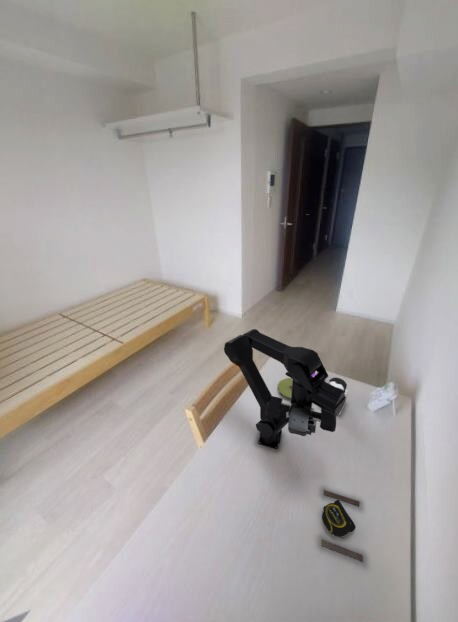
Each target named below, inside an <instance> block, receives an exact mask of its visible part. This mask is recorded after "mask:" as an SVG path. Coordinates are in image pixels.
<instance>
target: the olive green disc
mask: <svg viewBox="0 0 458 622" xmlns="http://www.w3.org/2000/svg"><path fill="white" fill-rule="evenodd" d="M292 380H293V379H292V378H290V377H286V378H283V379H281V380H280V381H279V382H278V384H277V389H278V392H279V393H280V394H282V395H283V396H284V397H287V398H289V399H291V392H292Z"/></svg>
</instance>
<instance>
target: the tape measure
mask: <svg viewBox="0 0 458 622" xmlns="http://www.w3.org/2000/svg"><path fill="white" fill-rule="evenodd" d="M322 510H323V511H322V514H321V520H322V523H323V526H324V527H325V528H326V530H327V531H328V532H329V533H330V534H331V535H333V536H334V537H337V538H343V537H346V536H347V535H348V534H351V533H353V532H354V531H356V527H357V526H356V524H355V522H354V520H353V519H352V518H351V516H350V515H349V514H348V512H347V510H346V509H345V507H344V506H343V504H342V502H341V500H338V499H336V500H334V501H333V502H329V503H328V504H327V505H324V506H323V509H322Z"/></svg>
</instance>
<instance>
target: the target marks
mask: <svg viewBox="0 0 458 622" xmlns="http://www.w3.org/2000/svg"><path fill="white" fill-rule="evenodd" d="M323 496H326V497H330V498H332V499H336V500H339V501H340V502H341V501H342V502H344V503H346V504H347V503H348V504H351V505H353V506H356V507H360V501H359V500H357V499H353V498H350V497H347V496H344V495H341V494H338V493H335V492H332V491H330V490H326V489H323ZM321 547H324V548H325V549H329V550H330V551H331V550H332V551H334V552H336V553H338V554H342V555H344V556H347V557H350V558H352V559H354V560H357V561H360V562H364V556H363V554H361V553H359V552H356V551H353V550H351V549H348V548H345V547H343V546H340V545H337V544H335V543H333V542H329V541H328V540H324V539H321Z"/></svg>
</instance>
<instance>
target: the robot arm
mask: <svg viewBox="0 0 458 622" xmlns="http://www.w3.org/2000/svg"><path fill="white" fill-rule="evenodd" d="M254 350H256V351H258V352H260V353H262V354H264V355H266V356H267V357H269V358H271V359H273V360H275V361H277V362H279V363H281V364H282V365H283V366H284V368H285V370H286V372H285V375H286V376H287V378H292V379H293V380H292V392H291V398H290V403H286V402H283V401H284V399H283V397H278V396H273V395H272V393H271V391H270V389H269V388H268V385H267V384H266V381H265V380H264V378H263V376H262V374H261V373H260V371H259V368H258V367H257V365H256V363H255V361H254ZM223 351H224V354H225V356H226V357H227V358H228V360H229V362H231V363H232V364H234V365H235V366H237V367H238V368H239V369H240V372H241V373H242V375H243V377H244V379H245V381H246V383H247V385H248V386H249V388H250V390H251V393H252V394H253V396H254V398H255V400H256V402H257V404H258V406H259V410H260V411H259V419H260V420H259V421H258V422H257V423H255V428H256V430H257V431H258V432H259V437H258V441H257V444H258V445H261V446H264V447H267V448H270V449H274V450H278V449H279V445H280V444H281V441H282V434H283V429H284V428H285V427H286V426H287V431H288V433H290V434H294V435H298V436H301V437H306V436H307V435H309V436H312V434H315V433H316V429H317V422H319V423H320V424H319V428H320V429H321V430H323V431H326V432H330V433H334V432H336V429H337V416H339V415H338V414H339V413H340V411H341V410H342V411H343V409H344V407H345V404H346V401H345V400H347V397H345V394H343V392H344V391H343V390H342V389H340V388H337V387H334V386H332V385H330V384H329V382H327V381H326V380H327V378H329V374H328V371H327V369H326V368H325V366H324V364H323V362H322V360H321V358H320V355H319V353H317V351H315V350H313V349H311V348H307V347H303V346H292V345H291V346H290V345H288V344H285V343H284V342H282V341H280V340H277V339H275V338H274V337H270V336H268V335H266V334H264V333H262V332H260V331H259V330H258V329H256V328H252V329H250V330H248V331H246V332H244V333H243V334H238V335H237V336H235V337H233V338H232V339H230V340H227V341H226V342H225V343H224V347H223ZM314 372H315V376H314V377H312V376H311V375H312V374H313V373H314ZM317 372H318V374H317ZM344 403H345V404H344ZM313 404H314V405H315V406H317V407H319V408H320V411H315V408H314V407H313ZM343 406H344V407H343ZM342 408H343V409H342ZM342 411H341V412H342Z"/></svg>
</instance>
